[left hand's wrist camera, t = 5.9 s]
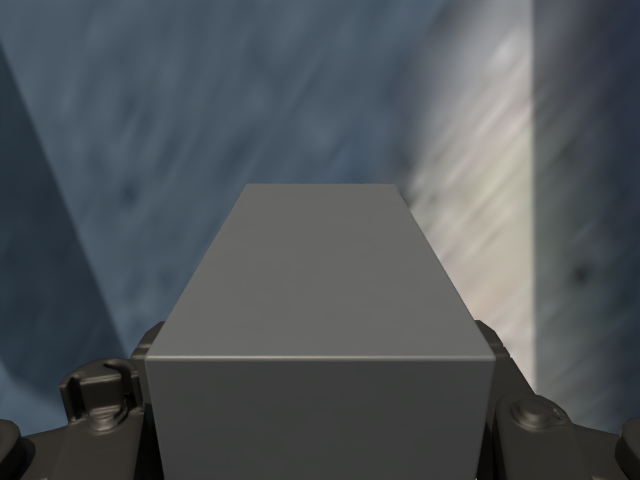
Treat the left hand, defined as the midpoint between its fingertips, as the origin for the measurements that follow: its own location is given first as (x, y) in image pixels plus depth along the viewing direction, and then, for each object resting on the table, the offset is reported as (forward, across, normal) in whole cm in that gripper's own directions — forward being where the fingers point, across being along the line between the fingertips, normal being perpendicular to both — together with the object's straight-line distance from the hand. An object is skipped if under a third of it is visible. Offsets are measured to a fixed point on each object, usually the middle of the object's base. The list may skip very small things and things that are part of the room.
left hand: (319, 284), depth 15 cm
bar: (+1, 0, -7) cm, 7 cm away
